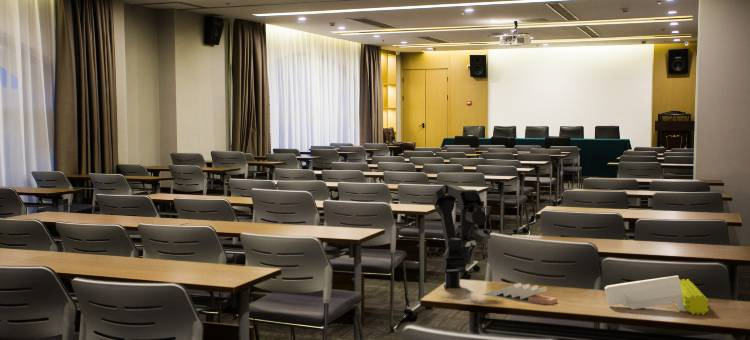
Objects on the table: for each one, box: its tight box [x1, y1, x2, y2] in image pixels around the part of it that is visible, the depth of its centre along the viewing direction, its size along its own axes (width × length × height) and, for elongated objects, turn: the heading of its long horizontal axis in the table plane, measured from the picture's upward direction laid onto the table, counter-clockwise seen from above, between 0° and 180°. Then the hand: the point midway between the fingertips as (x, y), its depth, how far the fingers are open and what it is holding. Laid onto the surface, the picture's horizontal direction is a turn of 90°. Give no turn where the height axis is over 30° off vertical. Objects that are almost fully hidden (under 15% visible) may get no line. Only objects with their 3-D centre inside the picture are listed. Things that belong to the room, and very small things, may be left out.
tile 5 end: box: [528, 294, 558, 305], centre depth 277 cm, size 2×5×9 cm
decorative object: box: [679, 278, 709, 316], centre depth 275 cm, size 7×33×7 cm, turn 167°
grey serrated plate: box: [482, 290, 541, 305], centre depth 284 cm, size 24×9×1 cm, turn 48°
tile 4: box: [519, 286, 548, 299], centre depth 279 cm, size 2×5×9 cm
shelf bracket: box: [604, 275, 686, 312], centre depth 268 cm, size 6×25×13 cm, turn 77°
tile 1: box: [494, 282, 523, 295], centre depth 286 cm, size 2×5×9 cm
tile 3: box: [511, 284, 540, 298], centre depth 282 cm, size 2×5×9 cm
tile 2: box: [503, 283, 531, 297], centre depth 284 cm, size 2×5×9 cm
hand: (467, 263), depth 290 cm, fingers closed
